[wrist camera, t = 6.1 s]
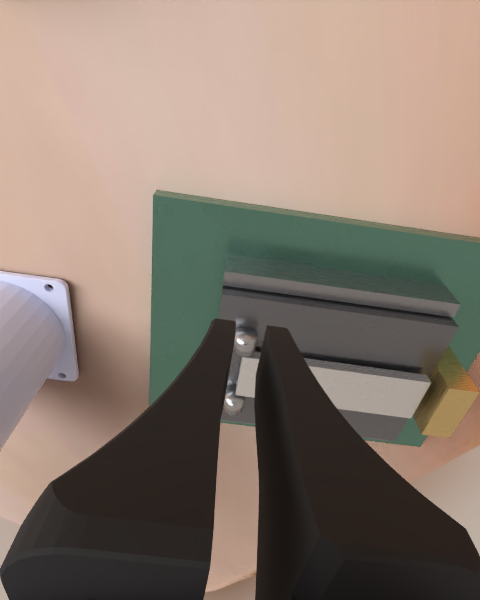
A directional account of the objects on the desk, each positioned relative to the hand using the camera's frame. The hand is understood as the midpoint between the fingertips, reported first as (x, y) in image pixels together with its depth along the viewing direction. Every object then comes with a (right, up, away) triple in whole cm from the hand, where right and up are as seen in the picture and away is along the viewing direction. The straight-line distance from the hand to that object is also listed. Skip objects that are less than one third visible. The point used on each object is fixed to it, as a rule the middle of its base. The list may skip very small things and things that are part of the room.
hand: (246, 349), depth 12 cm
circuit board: (+4, -1, +13) cm, 13 cm away
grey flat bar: (+5, -3, +10) cm, 11 cm away
